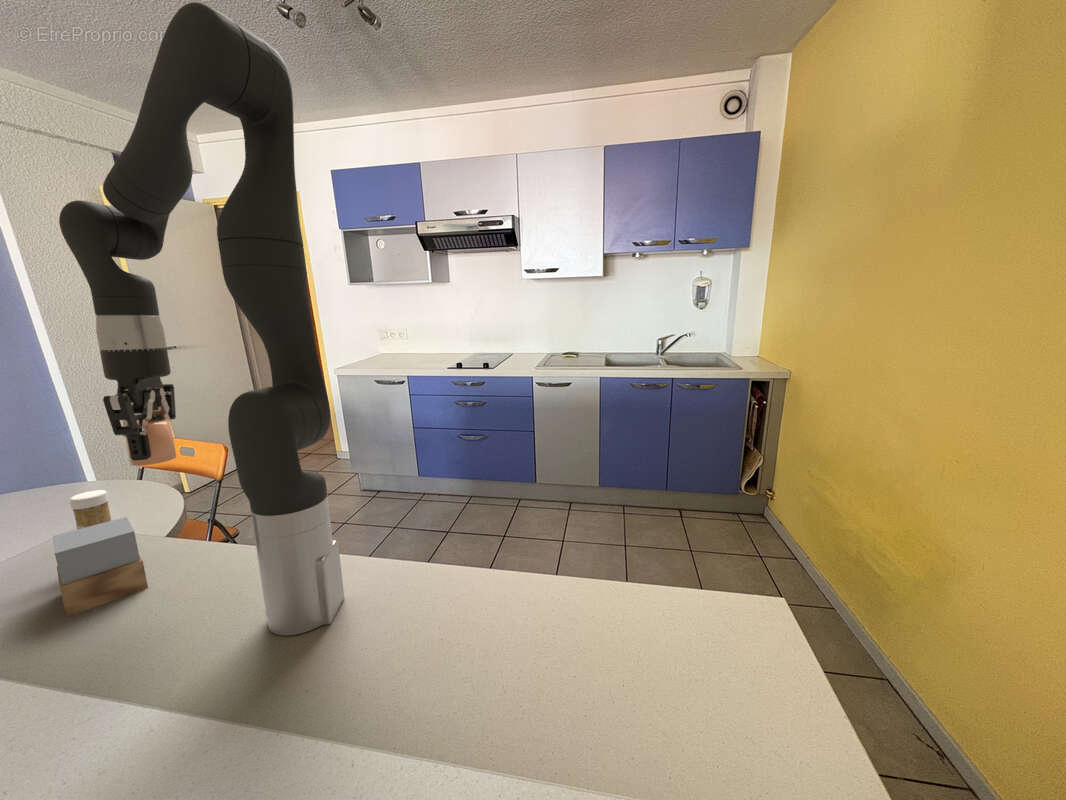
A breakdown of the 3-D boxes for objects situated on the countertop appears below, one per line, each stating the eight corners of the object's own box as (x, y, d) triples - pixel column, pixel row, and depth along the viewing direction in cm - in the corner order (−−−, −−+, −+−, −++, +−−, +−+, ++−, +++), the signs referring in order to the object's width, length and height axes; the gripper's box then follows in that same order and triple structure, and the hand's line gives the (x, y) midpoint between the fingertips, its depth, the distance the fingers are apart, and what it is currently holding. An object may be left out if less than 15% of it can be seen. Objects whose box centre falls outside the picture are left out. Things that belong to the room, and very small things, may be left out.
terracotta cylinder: (184, 454, 71) (178, 418, 70) (159, 464, 65) (153, 426, 64) (148, 455, 70) (142, 419, 69) (120, 466, 65) (113, 427, 64)
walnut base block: (138, 569, 75) (133, 543, 74) (148, 588, 69) (142, 560, 68) (63, 594, 68) (56, 566, 67) (67, 618, 63) (59, 587, 62)
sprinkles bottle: (117, 566, 76) (102, 494, 74) (81, 575, 73) (64, 501, 71) (123, 555, 80) (109, 487, 77) (89, 563, 77) (74, 493, 75)
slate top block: (131, 543, 74) (126, 516, 73) (140, 560, 69) (134, 531, 68) (59, 565, 68) (52, 536, 67) (62, 585, 62) (54, 553, 61)
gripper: (135, 348, 59) (156, 465, 62) (186, 343, 72) (201, 440, 75) (67, 349, 57) (91, 471, 60) (132, 345, 70) (149, 444, 73)
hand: (152, 453), depth 68 cm, fingers closed on terracotta cylinder, 5 cm apart
